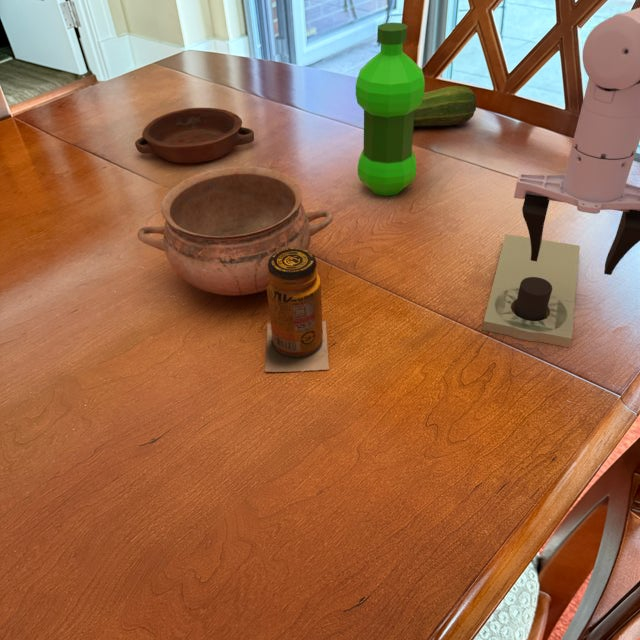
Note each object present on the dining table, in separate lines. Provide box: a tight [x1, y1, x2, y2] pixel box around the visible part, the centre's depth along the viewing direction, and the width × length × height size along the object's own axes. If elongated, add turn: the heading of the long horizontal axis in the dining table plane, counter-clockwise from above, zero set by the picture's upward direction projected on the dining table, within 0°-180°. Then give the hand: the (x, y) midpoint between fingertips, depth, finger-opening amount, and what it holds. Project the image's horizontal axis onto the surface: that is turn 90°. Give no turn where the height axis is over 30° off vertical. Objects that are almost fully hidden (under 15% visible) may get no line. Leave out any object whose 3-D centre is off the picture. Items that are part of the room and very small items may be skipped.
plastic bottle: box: [355, 22, 426, 197], centre depth 92 cm, size 10×10×25 cm
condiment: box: [264, 248, 330, 373], centre depth 67 cm, size 7×8×12 cm
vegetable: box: [413, 85, 478, 128], centre depth 116 cm, size 7×7×20 cm
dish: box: [134, 107, 255, 164], centre depth 112 cm, size 18×22×5 cm
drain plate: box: [481, 233, 581, 348], centre depth 77 cm, size 20×10×2 cm, turn 160°
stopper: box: [513, 277, 552, 321], centre depth 72 cm, size 4×4×5 cm
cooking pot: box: [137, 166, 334, 297], centre depth 78 cm, size 25×19×12 cm
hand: (570, 262), depth 66 cm, fingers open, 7 cm apart
